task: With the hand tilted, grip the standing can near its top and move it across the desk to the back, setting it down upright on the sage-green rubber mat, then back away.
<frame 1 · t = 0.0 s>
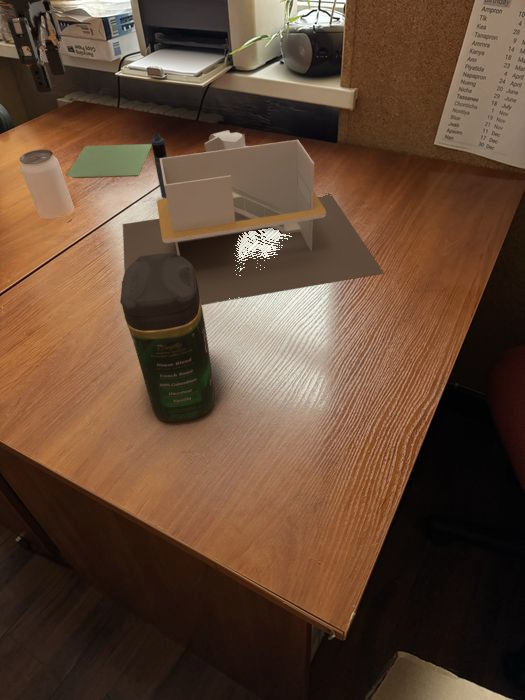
hand: (52, 82, 83), 22 cm above the table, tool pointing down, fingers open, 8 cm apart
can: (59, 218, 96), on the table
coffee jar: (184, 395, 63), on the table
vaping device: (173, 198, 99), on the table
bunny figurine: (231, 158, 111), on the table
architectural model: (242, 247, 86), on the table
mat: (110, 160, 113), on the table
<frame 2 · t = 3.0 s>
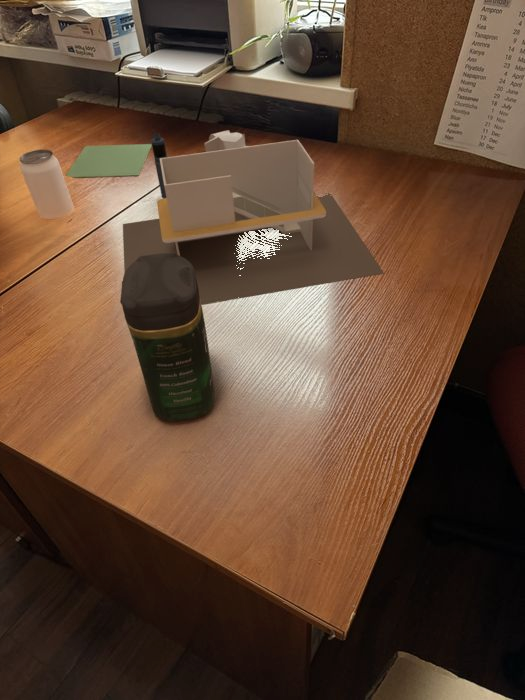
nothing on the table moved.
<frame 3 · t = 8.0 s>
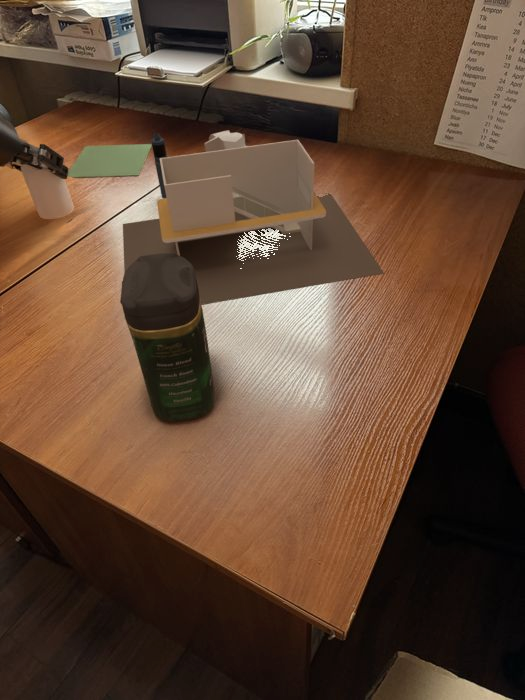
hand: (48, 171, 91), 8 cm above the table, tool tilted 45°, fingers closed on can, 6 cm apart
can: (59, 218, 96), on the table, touching gripper
everything else where it was.
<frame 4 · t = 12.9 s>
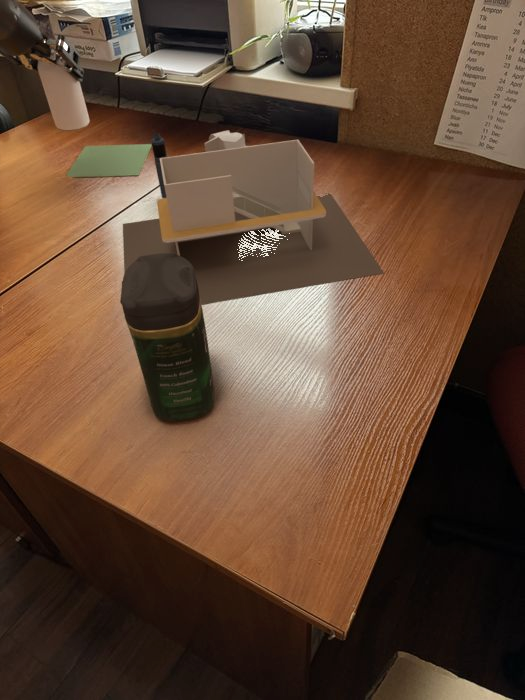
hand: (64, 75, 93), 20 cm above the table, tool tilted 45°, fingers closed on can, 6 cm apart
can: (73, 126, 98), point 11 cm above the table, touching gripper
everything else where it was.
when the fingers open (9 cm above the table, at t = 18.2 s): can stays where it is, resting on mat.
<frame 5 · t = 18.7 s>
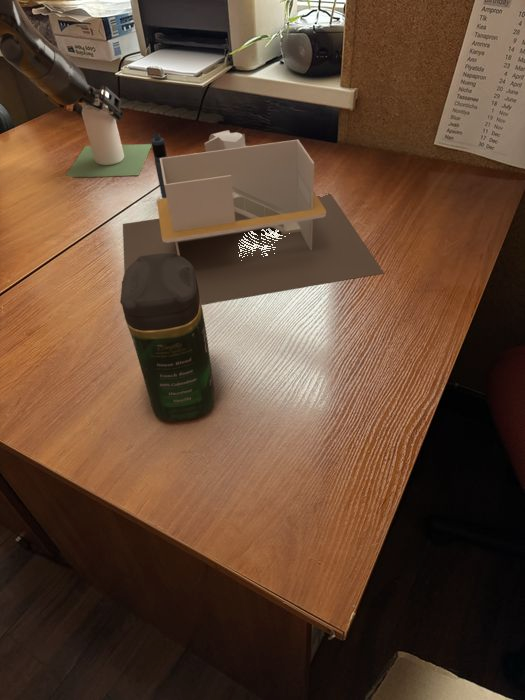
hand: (102, 115, 107), 9 cm above the table, tool tilted 45°, fingers open, 8 cm apart
can: (110, 160, 113), resting on mat
everything else where it was.
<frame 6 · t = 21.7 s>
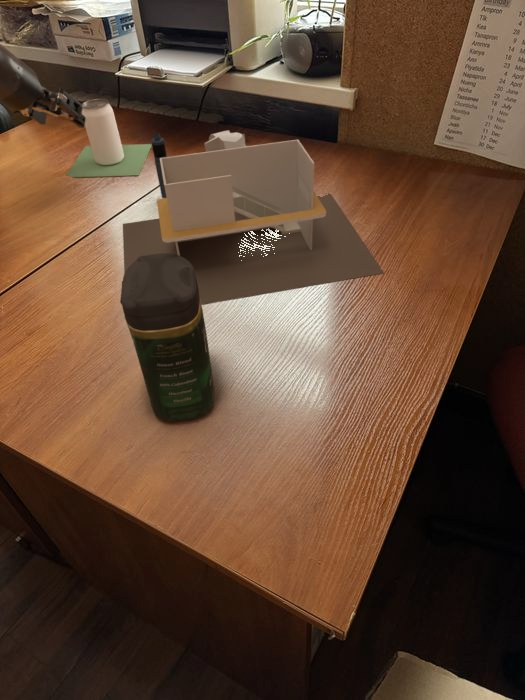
hand: (63, 121, 96), 13 cm above the table, tool tilted 45°, fingers open, 8 cm apart
nothing on the table moved.
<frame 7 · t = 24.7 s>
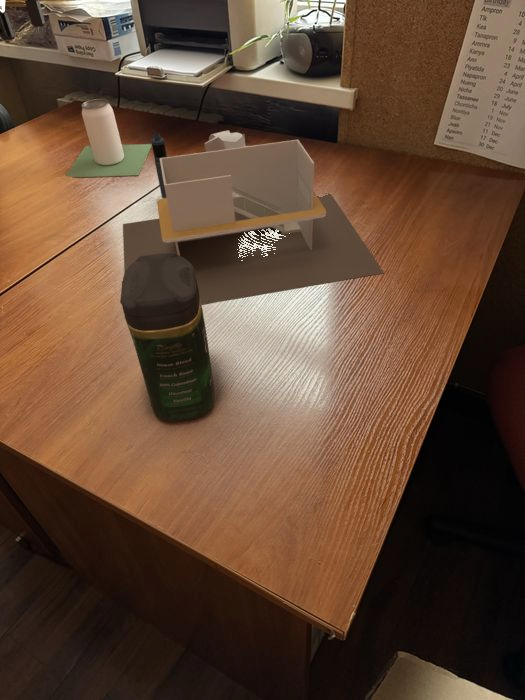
hand: (24, 32, 84), 28 cm above the table, tool pointing down, fingers open, 8 cm apart
nothing on the table moved.
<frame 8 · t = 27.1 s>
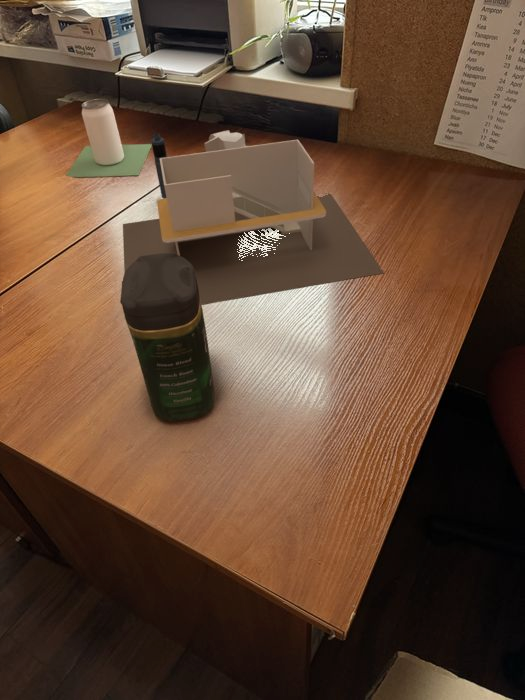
nothing on the table moved.
at the end: can inside the target area on the mat (0.2 cm from its centre), point 0.0 cm above the mat's base; can tilted 0°; can moved 24.8 cm from its start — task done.
